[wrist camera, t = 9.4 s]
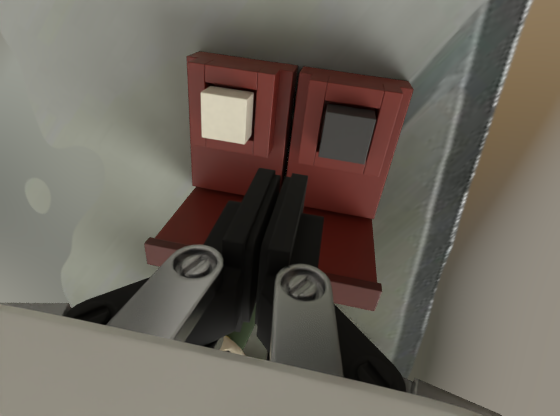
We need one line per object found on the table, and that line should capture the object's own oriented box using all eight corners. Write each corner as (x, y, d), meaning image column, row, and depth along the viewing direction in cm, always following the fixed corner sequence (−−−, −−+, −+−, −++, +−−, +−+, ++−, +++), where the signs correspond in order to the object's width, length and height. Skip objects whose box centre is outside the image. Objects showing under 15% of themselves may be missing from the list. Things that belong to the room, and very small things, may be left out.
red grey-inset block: (303, 65, 26) (295, 77, 23) (409, 80, 26) (418, 95, 22) (287, 189, 32) (278, 215, 29) (372, 204, 32) (375, 232, 28)
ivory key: (210, 85, 24) (200, 91, 23) (254, 92, 24) (247, 99, 22) (210, 128, 26) (201, 137, 24) (251, 135, 26) (244, 145, 24)
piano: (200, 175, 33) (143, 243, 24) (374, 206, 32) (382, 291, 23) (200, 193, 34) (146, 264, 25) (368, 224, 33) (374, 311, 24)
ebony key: (327, 103, 23) (326, 111, 22) (374, 110, 23) (376, 119, 22) (320, 146, 25) (318, 157, 24) (363, 153, 25) (364, 165, 23)
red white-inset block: (199, 50, 27) (174, 59, 23) (298, 64, 26) (289, 76, 23) (202, 174, 33) (183, 197, 29) (283, 188, 32) (274, 214, 29)
